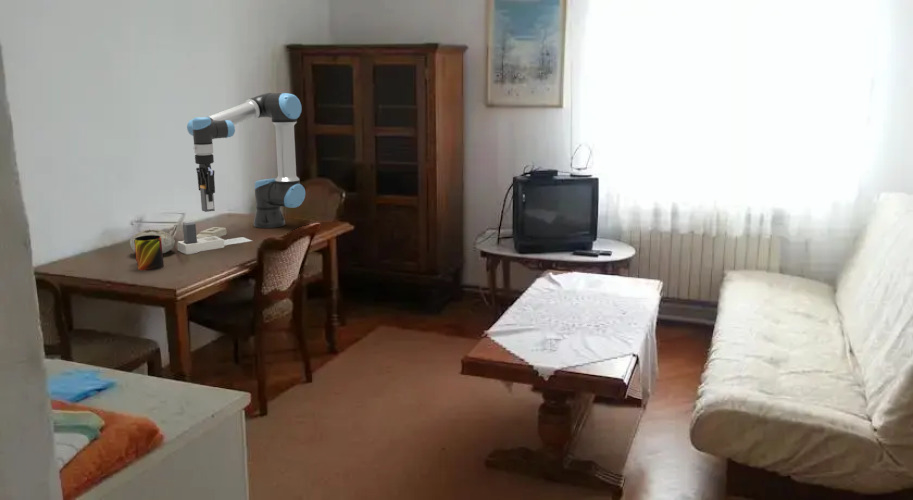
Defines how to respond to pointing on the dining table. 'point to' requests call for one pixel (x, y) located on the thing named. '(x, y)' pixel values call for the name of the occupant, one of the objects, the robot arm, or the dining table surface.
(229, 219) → the dining table surface
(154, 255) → the mug
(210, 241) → the socket strip
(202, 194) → the plug
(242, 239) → the tray
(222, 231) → the electrical outlet
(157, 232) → the grey stone
